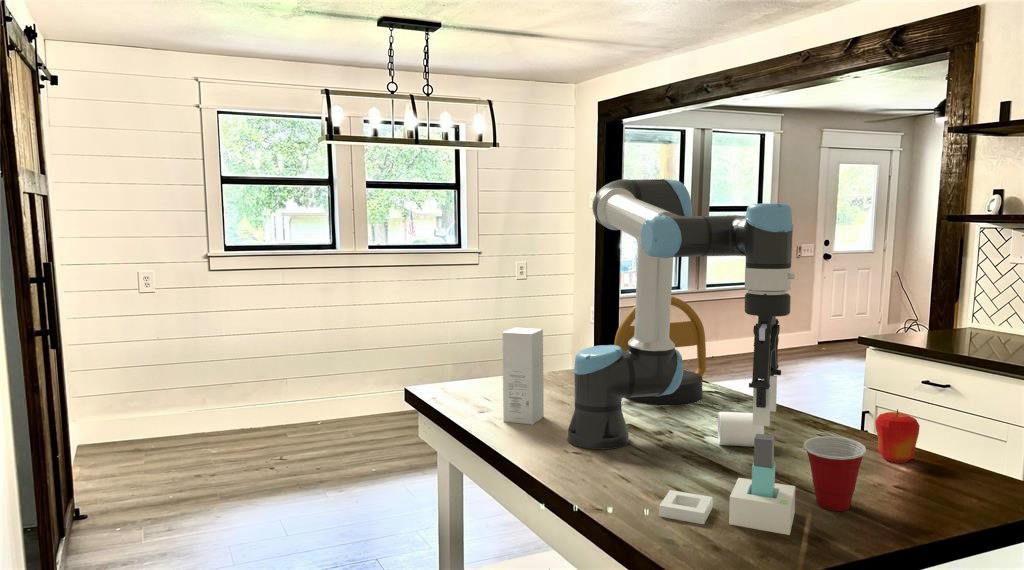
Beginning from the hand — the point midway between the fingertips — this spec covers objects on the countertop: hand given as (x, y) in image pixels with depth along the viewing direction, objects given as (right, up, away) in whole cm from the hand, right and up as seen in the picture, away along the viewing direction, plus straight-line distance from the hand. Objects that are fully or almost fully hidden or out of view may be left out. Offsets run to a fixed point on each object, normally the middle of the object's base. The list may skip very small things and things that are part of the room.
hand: (764, 417), depth 123 cm
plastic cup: (+16, -19, +9) cm, 27 cm away
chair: (+2, -11, +94) cm, 95 cm away
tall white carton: (-42, -14, +70) cm, 82 cm away
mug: (+11, -16, +48) cm, 51 cm away
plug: (0, -17, +2) cm, 18 cm away
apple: (+42, -16, +34) cm, 57 cm away
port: (0, -19, +2) cm, 20 cm away
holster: (-13, -19, +5) cm, 24 cm away
